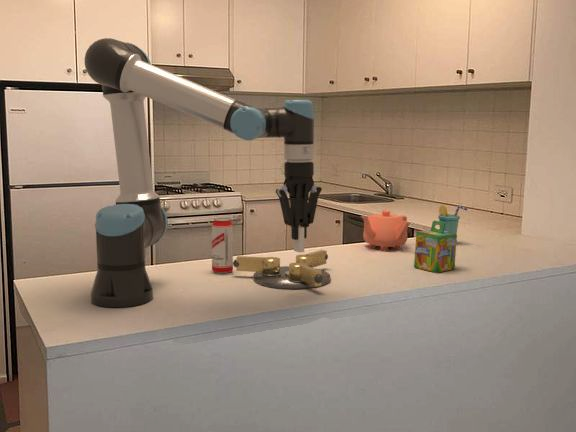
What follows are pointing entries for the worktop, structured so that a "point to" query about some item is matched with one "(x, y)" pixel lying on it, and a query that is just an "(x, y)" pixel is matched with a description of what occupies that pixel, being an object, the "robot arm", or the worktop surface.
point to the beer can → (222, 245)
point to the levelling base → (286, 280)
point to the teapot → (385, 230)
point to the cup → (449, 219)
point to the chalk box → (435, 249)
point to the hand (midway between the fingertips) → (299, 251)
